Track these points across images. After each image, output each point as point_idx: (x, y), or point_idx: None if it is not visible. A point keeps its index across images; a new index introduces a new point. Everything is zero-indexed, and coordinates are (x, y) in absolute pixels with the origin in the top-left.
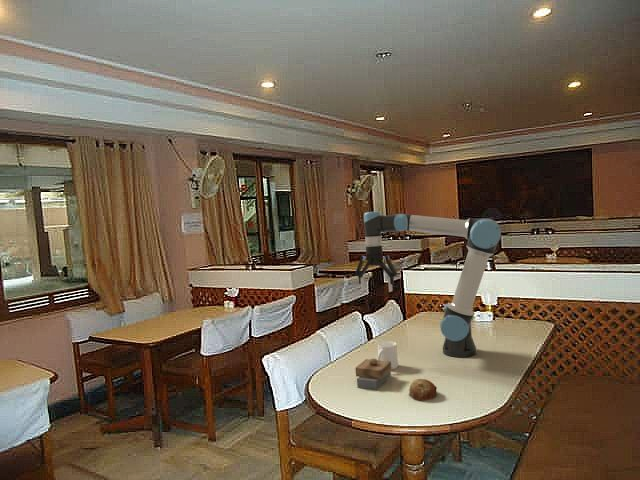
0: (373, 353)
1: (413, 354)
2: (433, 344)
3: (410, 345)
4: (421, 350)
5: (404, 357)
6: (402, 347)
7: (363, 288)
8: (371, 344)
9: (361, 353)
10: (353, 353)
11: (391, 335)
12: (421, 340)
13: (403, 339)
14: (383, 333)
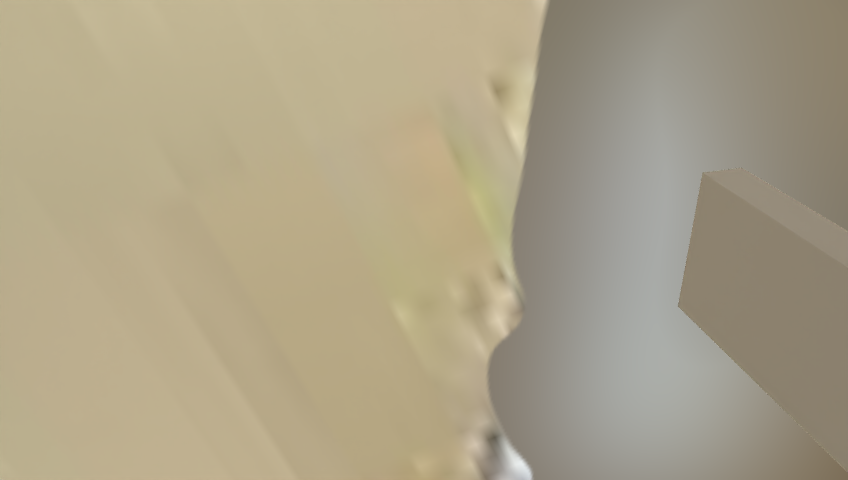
0: (368, 80)
1: (42, 172)
2: (35, 426)
3: (187, 346)
4: (39, 281)
5: (69, 75)
6: (221, 287)
7: (735, 252)
8: (471, 261)
9: (460, 46)
10: (520, 24)
11: (417, 463)
12: (170, 461)
13: (302, 431)
14: (483, 474)
